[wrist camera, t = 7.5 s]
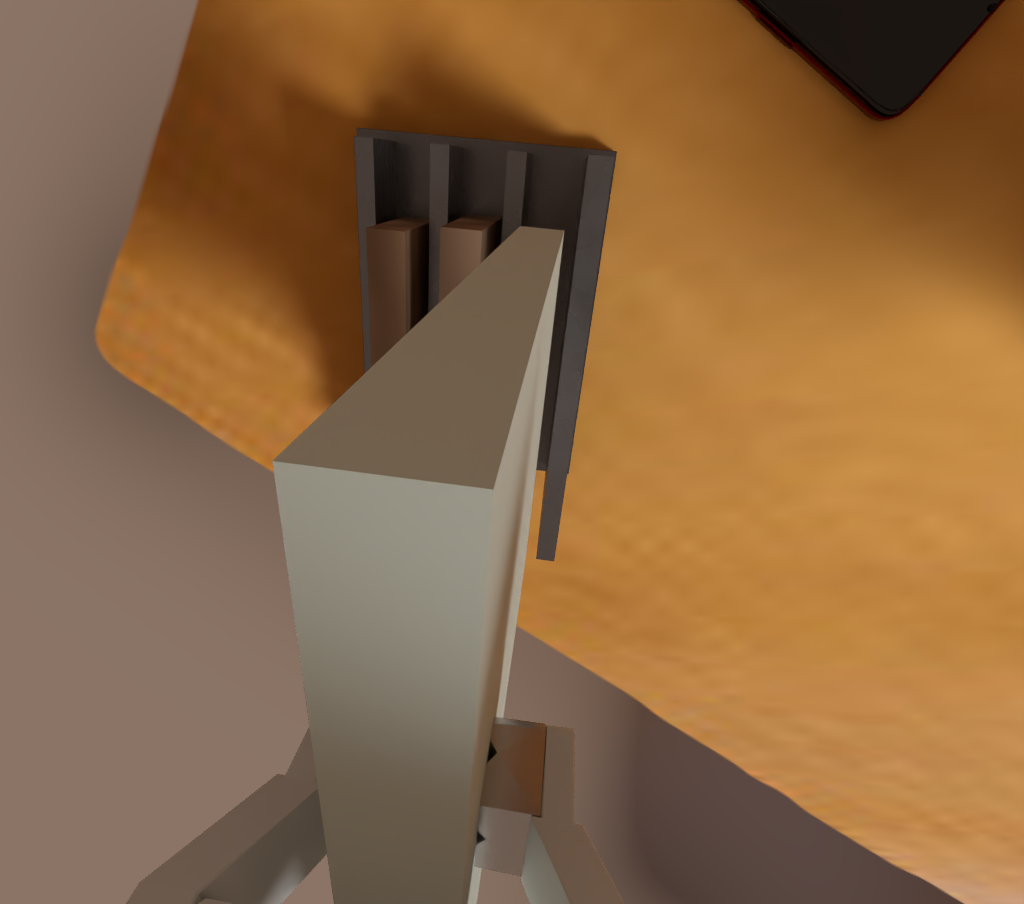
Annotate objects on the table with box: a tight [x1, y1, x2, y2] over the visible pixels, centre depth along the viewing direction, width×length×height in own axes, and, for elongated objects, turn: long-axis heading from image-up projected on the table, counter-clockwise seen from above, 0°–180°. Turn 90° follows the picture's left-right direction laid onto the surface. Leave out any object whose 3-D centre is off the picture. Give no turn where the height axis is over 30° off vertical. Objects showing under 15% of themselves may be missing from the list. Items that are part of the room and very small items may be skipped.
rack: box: [354, 128, 617, 561], centre depth 32 cm, size 15×21×12 cm
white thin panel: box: [273, 226, 564, 904], centre depth 15 cm, size 2×15×18 cm, turn 175°
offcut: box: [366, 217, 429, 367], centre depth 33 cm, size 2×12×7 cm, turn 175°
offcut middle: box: [439, 214, 502, 303], centre depth 33 cm, size 2×13×8 cm, turn 175°
